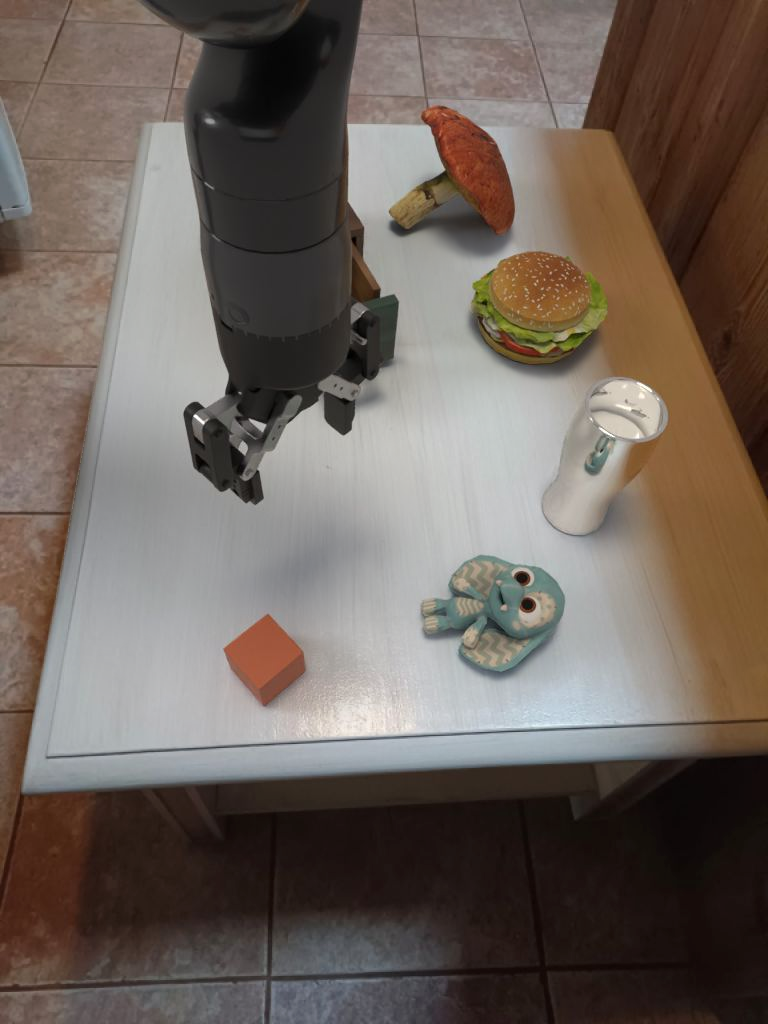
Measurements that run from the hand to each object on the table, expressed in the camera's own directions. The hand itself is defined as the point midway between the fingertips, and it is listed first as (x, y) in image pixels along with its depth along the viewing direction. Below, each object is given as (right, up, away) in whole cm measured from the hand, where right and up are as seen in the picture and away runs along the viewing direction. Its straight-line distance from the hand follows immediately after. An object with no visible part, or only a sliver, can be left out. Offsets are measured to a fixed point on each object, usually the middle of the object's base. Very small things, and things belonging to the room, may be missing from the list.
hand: (295, 459), depth 52 cm
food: (+23, +16, +30) cm, 41 cm away
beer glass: (+25, -4, +18) cm, 30 cm away
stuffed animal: (+15, -13, +11) cm, 23 cm away
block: (-3, -17, +8) cm, 19 cm away
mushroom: (+14, +36, +34) cm, 52 cm away
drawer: (0, +15, +26) cm, 30 cm away
